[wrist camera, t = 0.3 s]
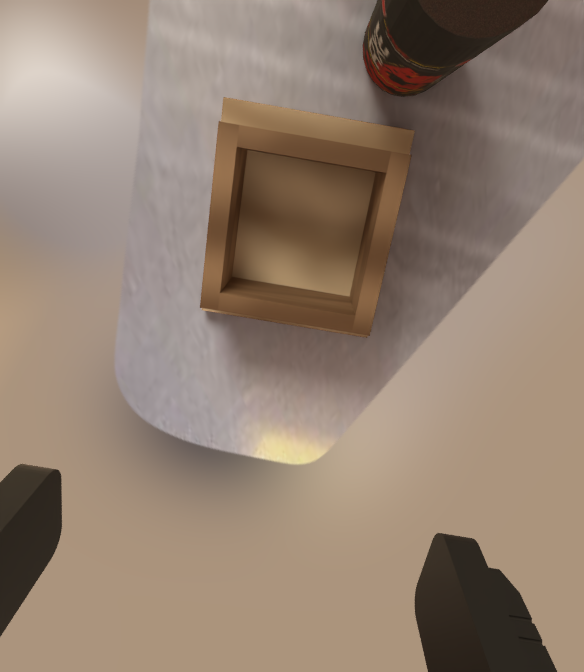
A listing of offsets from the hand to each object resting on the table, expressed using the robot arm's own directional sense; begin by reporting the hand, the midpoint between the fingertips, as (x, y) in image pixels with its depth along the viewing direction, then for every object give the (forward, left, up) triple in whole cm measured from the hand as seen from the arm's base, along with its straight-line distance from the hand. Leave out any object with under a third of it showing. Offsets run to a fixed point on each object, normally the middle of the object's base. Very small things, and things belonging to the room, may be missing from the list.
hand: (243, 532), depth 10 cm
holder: (-3, 0, -28) cm, 28 cm away
